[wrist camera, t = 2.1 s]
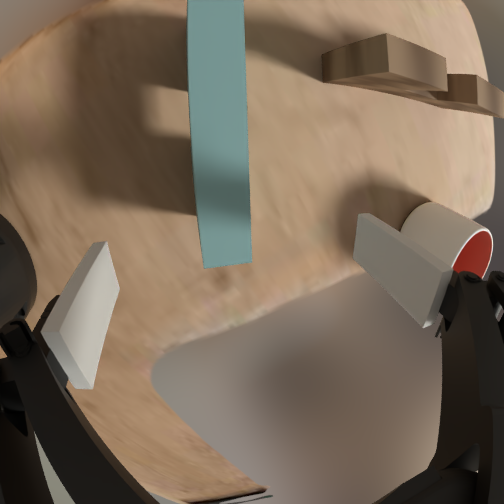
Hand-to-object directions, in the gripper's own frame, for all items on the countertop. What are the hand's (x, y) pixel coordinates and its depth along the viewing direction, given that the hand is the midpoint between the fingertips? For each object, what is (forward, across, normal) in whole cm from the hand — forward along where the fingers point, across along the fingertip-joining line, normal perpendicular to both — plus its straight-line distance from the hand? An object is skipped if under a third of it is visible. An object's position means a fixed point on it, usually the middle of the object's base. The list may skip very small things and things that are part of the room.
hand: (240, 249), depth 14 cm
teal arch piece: (+13, 0, +7) cm, 14 cm away
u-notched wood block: (+13, +20, +12) cm, 26 cm away
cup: (+14, +26, -7) cm, 31 cm away
